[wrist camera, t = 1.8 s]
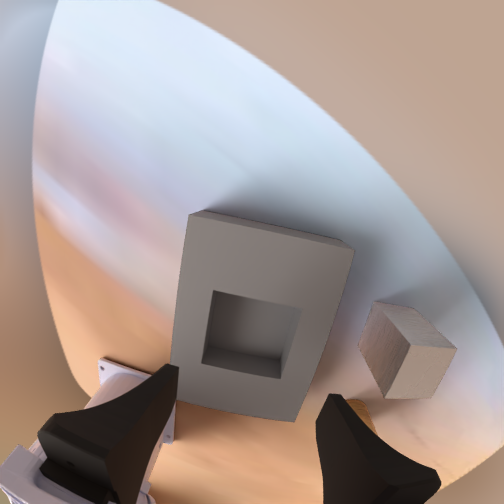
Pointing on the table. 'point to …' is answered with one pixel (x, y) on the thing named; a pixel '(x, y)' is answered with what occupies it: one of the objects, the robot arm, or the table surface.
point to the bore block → (253, 313)
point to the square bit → (404, 352)
